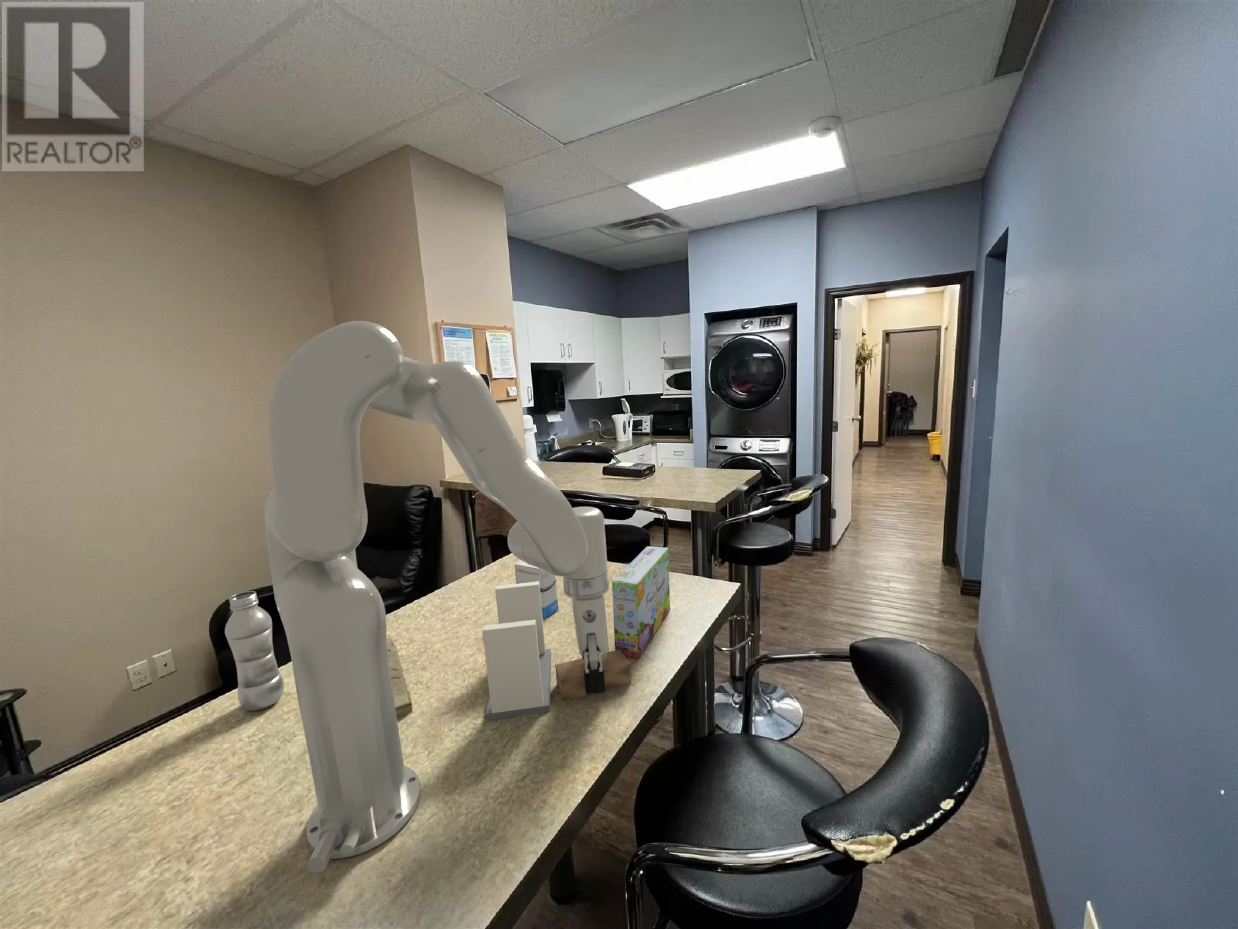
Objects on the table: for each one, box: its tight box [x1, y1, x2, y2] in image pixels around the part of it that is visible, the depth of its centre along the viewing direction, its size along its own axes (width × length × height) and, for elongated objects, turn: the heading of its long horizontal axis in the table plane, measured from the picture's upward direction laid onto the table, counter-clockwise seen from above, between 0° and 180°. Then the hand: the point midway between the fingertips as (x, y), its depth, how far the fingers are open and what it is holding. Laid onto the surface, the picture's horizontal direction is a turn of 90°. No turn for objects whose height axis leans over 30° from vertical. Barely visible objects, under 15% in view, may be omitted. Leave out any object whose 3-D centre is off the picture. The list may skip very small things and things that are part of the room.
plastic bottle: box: [224, 590, 285, 712], centre depth 82 cm, size 6×7×20 cm
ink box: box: [513, 560, 559, 619], centre depth 111 cm, size 8×5×12 cm, turn 58°
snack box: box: [611, 546, 671, 659], centre depth 99 cm, size 21×6×15 cm, turn 158°
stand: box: [482, 581, 552, 721], centre depth 83 cm, size 17×10×15 cm, turn 7°
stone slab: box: [386, 637, 413, 719], centre depth 88 cm, size 12×4×30 cm
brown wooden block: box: [554, 649, 632, 702], centre depth 83 cm, size 12×5×4 cm, turn 108°
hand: (593, 675), depth 83 cm, fingers open, 9 cm apart
